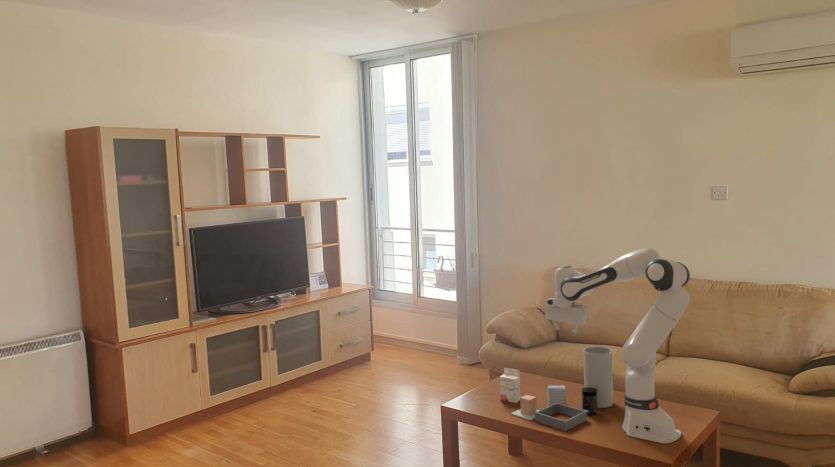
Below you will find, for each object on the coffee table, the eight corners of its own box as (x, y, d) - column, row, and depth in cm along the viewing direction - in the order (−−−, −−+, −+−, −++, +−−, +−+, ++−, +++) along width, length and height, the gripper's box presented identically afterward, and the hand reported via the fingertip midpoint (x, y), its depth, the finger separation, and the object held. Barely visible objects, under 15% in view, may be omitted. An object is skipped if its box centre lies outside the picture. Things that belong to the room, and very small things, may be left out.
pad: (546, 413, 274) (546, 412, 274) (530, 420, 267) (530, 419, 267) (526, 407, 282) (526, 406, 282) (511, 414, 275) (511, 413, 275)
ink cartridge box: (500, 400, 293) (498, 370, 291) (504, 397, 297) (503, 367, 295) (516, 403, 288) (515, 372, 287) (521, 399, 292) (520, 369, 291)
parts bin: (586, 420, 265) (586, 411, 264) (565, 431, 254) (565, 421, 254) (556, 411, 276) (556, 402, 276) (535, 421, 266) (534, 412, 266)
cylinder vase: (618, 404, 281) (618, 350, 279) (601, 410, 274) (599, 355, 272) (596, 396, 292) (595, 345, 289) (579, 403, 285) (577, 350, 282)
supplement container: (600, 412, 273) (600, 389, 272) (593, 416, 268) (593, 393, 267) (586, 408, 278) (585, 386, 277) (579, 413, 273) (578, 390, 272)
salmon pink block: (536, 412, 274) (536, 397, 273) (529, 415, 271) (529, 400, 270) (527, 409, 278) (527, 394, 277) (520, 412, 274) (520, 397, 274)
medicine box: (565, 403, 285) (564, 385, 284) (566, 407, 281) (566, 388, 280) (547, 403, 286) (547, 385, 285) (548, 407, 282) (548, 388, 281)
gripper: (588, 303, 274) (589, 333, 275) (550, 297, 289) (551, 326, 290) (580, 305, 270) (581, 336, 271) (542, 300, 285) (543, 329, 286)
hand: (565, 331), depth 281 cm, fingers open, 8 cm apart
